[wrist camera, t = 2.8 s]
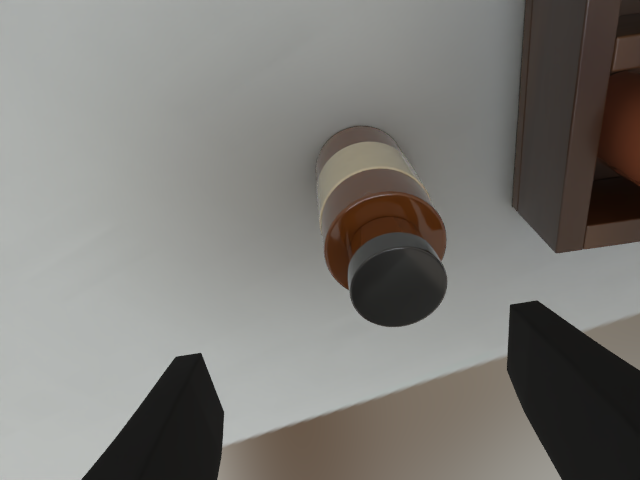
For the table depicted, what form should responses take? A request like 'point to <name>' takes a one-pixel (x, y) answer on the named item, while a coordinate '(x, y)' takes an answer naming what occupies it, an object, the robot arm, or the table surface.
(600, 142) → the clay jar
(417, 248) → the spice bottle
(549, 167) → the cup holder
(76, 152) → the table surface
